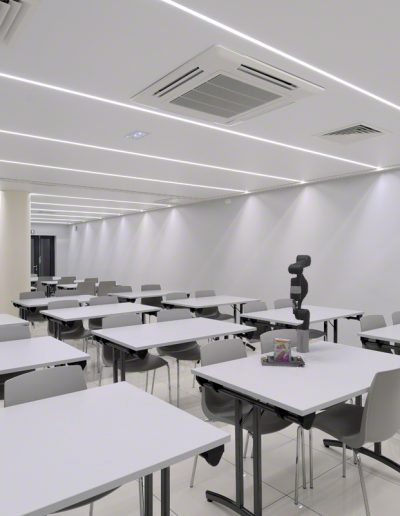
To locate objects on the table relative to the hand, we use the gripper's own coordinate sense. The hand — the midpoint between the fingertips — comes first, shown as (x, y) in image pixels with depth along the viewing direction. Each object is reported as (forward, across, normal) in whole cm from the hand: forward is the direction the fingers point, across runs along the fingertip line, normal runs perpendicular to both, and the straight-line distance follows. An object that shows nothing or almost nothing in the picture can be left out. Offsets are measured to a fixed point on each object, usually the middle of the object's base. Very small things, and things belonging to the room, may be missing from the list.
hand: (295, 315), depth 279 cm
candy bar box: (+32, -10, +10) cm, 35 cm away
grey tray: (+32, -10, +10) cm, 35 cm away
